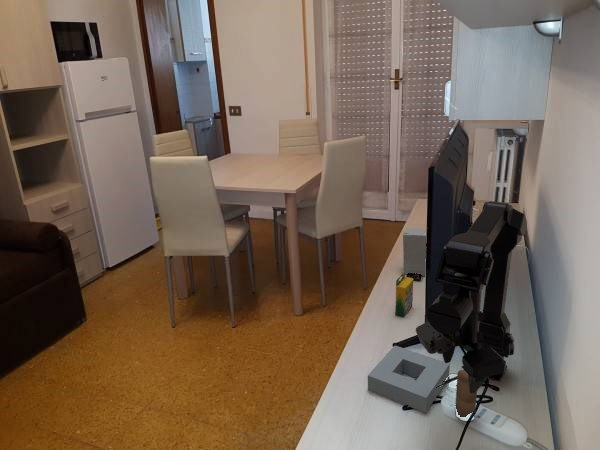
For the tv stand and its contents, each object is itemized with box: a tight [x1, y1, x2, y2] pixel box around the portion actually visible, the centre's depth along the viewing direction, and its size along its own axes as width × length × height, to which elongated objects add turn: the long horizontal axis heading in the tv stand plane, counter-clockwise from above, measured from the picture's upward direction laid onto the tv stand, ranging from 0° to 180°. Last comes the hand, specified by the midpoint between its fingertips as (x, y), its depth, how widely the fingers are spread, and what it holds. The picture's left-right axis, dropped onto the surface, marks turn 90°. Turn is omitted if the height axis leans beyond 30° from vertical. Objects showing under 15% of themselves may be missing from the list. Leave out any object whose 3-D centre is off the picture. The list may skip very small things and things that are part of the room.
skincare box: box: [402, 227, 427, 277], centre depth 162 cm, size 8×7×16 cm
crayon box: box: [394, 270, 414, 318], centre depth 138 cm, size 7×3×12 cm, turn 148°
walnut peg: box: [455, 368, 478, 417], centre depth 97 cm, size 4×4×10 cm
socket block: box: [367, 345, 451, 414], centre depth 108 cm, size 14×14×4 cm
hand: (459, 376), depth 90 cm, fingers open, 9 cm apart
